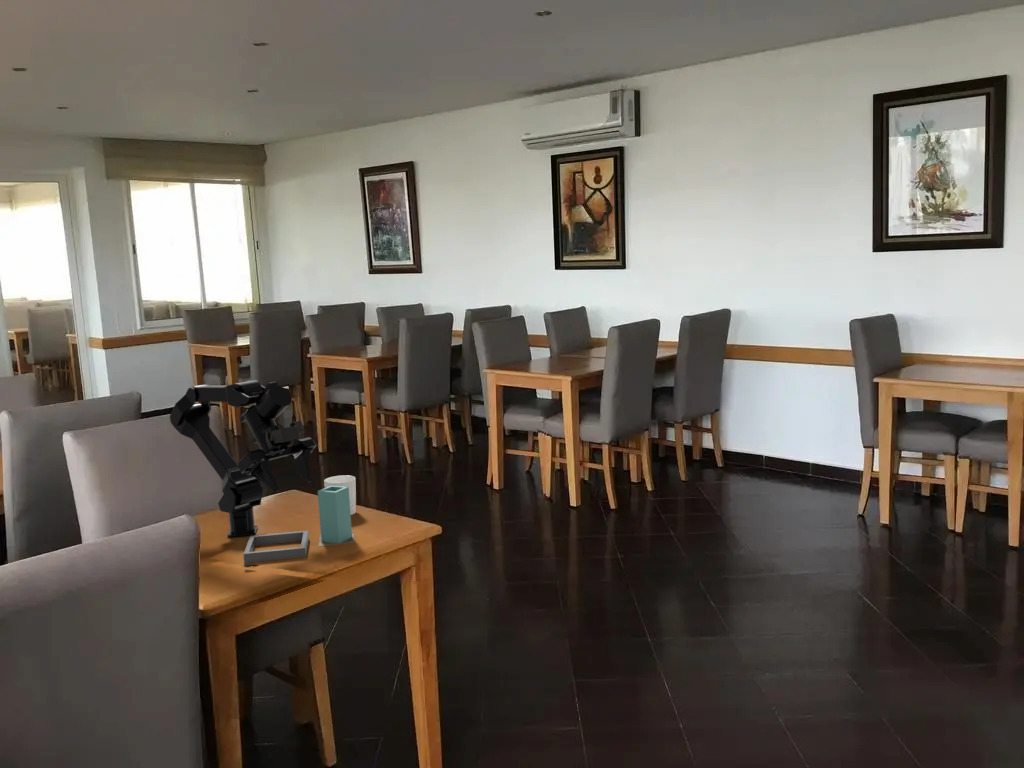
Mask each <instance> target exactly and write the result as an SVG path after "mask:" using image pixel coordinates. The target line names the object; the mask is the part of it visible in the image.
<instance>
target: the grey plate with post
mask: <svg viewBox="0 0 1024 768" xmlns="http://www.w3.org/2000/svg"><path fill="white" fill-rule="evenodd" d="M349 544H350V545H351V544H355V532H352V537H351V538H349V539H347V540H345V541H344V542H342V543H340V544H338V543H329V542H321V535H319V540H318V547H328V546H335V545H336V546H339V545H349Z"/></svg>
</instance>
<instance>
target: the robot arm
mask: <svg viewBox="0 0 1024 768" xmlns="http://www.w3.org/2000/svg"><path fill="white" fill-rule="evenodd" d="M292 399H293V398H292V393H291V392H290V391H288V390H287V389H286V388H285V387H283V386H281V385H278V382H276V381H272V382H268V383H267V384H266V385H265V386H264V385H262V384H261V383H260V381H259V380H257V379H255V380H254V379H253V380H247V381H243V382H235V383H231V384H228V385H224V384H223V385H221V384H220V385H214V384H213V385H210V384H206V383H205V384H199V385H193V386H190V387H189V388H187V390H186V393H185V394H184V395H183V396H182V397H181V398H180V399H179V400H178V401H177V402H176V403H175V404H174V406H173V408H172V410H171V413H170V415H169V420H170V424H171V425H172V426H173V428H174V429H175V430H176V431H177V432H178V433H179V434H180V435H181V436H184V437H186V438H189V439H191V440H192V441H193V442H194V443H195V445H196V446H197V448H198V449H199V450H200V452H201V453H202V454H203V456H204V457H205V458H206V460H207V461H208V462H209V464H210V465H211V466H212V468H213V469H214V471H215V472H216V474H217V475H218V476H219V478H220V479H221V481H222V484H221V485H222V486H221V487H222V488H221V491H222V493H223V495H222V496H221V497H220V500H219V501H218V502H217V504H218V507H219V511H220V512H223V513H227V514H228V518H229V531H228V532H227V534H226V536H227V538H232V537H241V536H242V537H243V536H255V535H256V533H257V531H258V528H259V527H258V525H255V516H254V507H257V506H261V505H262V504H261V503H262V499H263V492H264V487H263V485H262V483H263V484H264V485H266V487H268V488H269V489H271V490H272V491H274V492H275V493H278V492H279V491H280V488H279V484H278V481H277V480H276V478H275V476H274V474H273V472H272V470H271V468H270V461H273V460H277V459H280V458H284V457H290V459H292V462H291V463H292V465H293V466H294V467H295V468H296V470H297V471H298V472H299V474H300V475H301V477H302V478H303V479H304V480H305V482H307V484H308V483H311V482H312V477H311V469H310V456H311V454H312V453H313V451H314V449H315V448H316V447H317V444H316V443H315V440H314V439H313V438H312V437H309V436H308V437H305V438H302V437H301V435H303V434H305V427H304V425H303V423H302V422H301V420H297V421H292V422H290V424H289V426H287V427H283V425H281V423H280V424H277V423H276V421H275V419H276V418H278V417H279V416H280V415H281V414H282V413H283V412H284V411H286V409H287V408H288V406H290V405H291V403H292ZM198 402H200V403H198ZM212 402H213V403H217V402H218V403H226V404H227V405H228V406H231V407H234V408H244V407H248V406H249V408H248V409H246V410H242V411H241V416H240V418H239V422H240V423H245V422H246V423H247V425H248V427H249V429H250V431H251V433H252V435H253V437H254V438H253V439H252V440H251V441H252V443H253V444H257V445H258V446H259V448H258V449H254V450H249V451H247V452H245V454H244V455H243V456H242V457H241V458H240V459H239V460H238V463H237V461H236V460H235V459H234V458H233V457H232V455H231V454H230V453H229V451H228V450H227V448H226V447H225V445H223V443H222V442H221V440H220V439H219V438H218V436H217V435H216V434H215V433H214V431H213V430H212V428H211V427H210V425H211V420H210V419H211V417H210V415H209V414H210V412H211V410H212V406H211V403H212ZM293 440H296V441H295V442H294V443H293ZM292 443H293V444H292ZM291 444H292V445H291ZM289 445H290V446H289Z"/></svg>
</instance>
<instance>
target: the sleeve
mask: <svg viewBox="0 0 1024 768" xmlns="http://www.w3.org/2000/svg"><path fill="white" fill-rule="evenodd" d="M317 499H318V513H319V526H320V536H321V542H329V543H338V544H340V543H342V542H344V541H345V540H347V539H349V538H351V537H352V533H353V531H352V517H351V516H352V515H351V514H350V500H349V487H343V486H328V487H326V488H325V487H324V488H322V489H319V490H317ZM340 545H341V544H340Z"/></svg>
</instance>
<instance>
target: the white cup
mask: <svg viewBox="0 0 1024 768" xmlns="http://www.w3.org/2000/svg"><path fill="white" fill-rule="evenodd" d="M323 482H324V483H323V484H324V488H326V487H328V486H343V487H349V500H350V514H351V516H353V515H354V514H355V513H357V511H356V510H357V508H356V505H357V490H356V487H357V485H356V483H357V482H356V476H353V475H348V474H347V475H341V474H340V475H335V476H330V477H327V478H325V479H324V480H323Z"/></svg>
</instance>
